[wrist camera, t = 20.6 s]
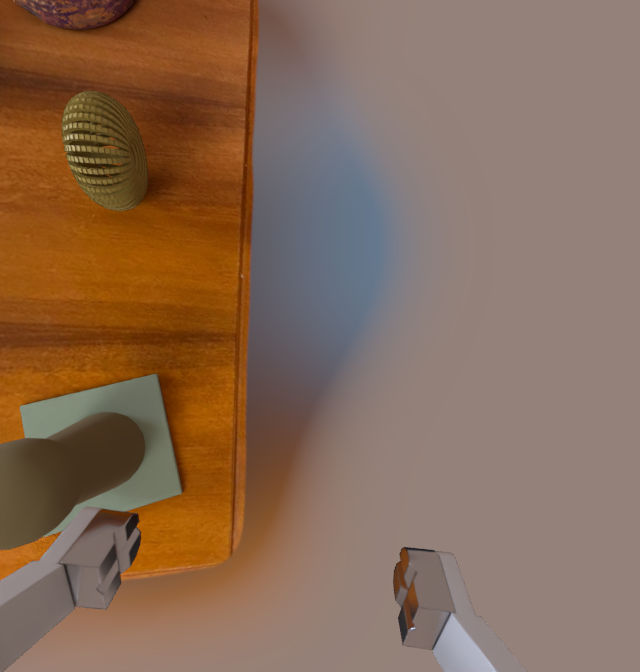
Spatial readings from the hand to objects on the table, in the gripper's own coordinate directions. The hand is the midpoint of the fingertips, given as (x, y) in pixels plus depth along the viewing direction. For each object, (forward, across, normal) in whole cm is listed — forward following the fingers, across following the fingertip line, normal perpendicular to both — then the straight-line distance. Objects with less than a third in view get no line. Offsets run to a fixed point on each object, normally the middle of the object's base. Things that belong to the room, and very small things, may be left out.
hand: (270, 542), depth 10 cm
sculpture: (+25, -18, +9) cm, 32 cm away
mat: (+13, -15, -11) cm, 23 cm away
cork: (+13, -15, -11) cm, 23 cm away
